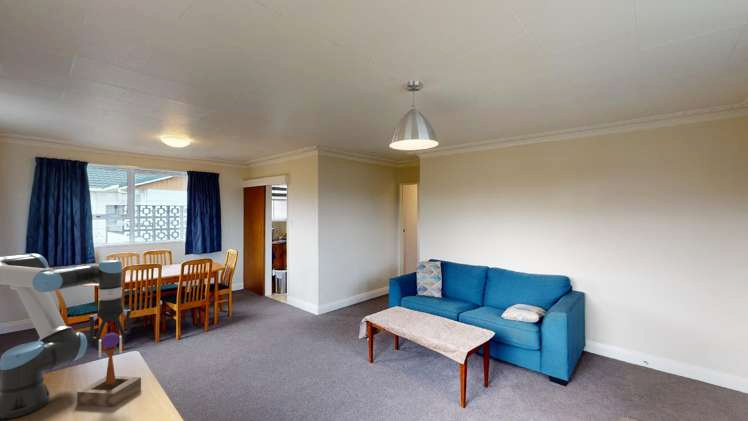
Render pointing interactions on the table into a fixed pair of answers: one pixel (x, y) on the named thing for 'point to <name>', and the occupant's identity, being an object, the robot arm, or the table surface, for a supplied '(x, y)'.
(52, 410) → the table surface
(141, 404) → the table surface
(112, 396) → the socket block
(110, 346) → the kendama
